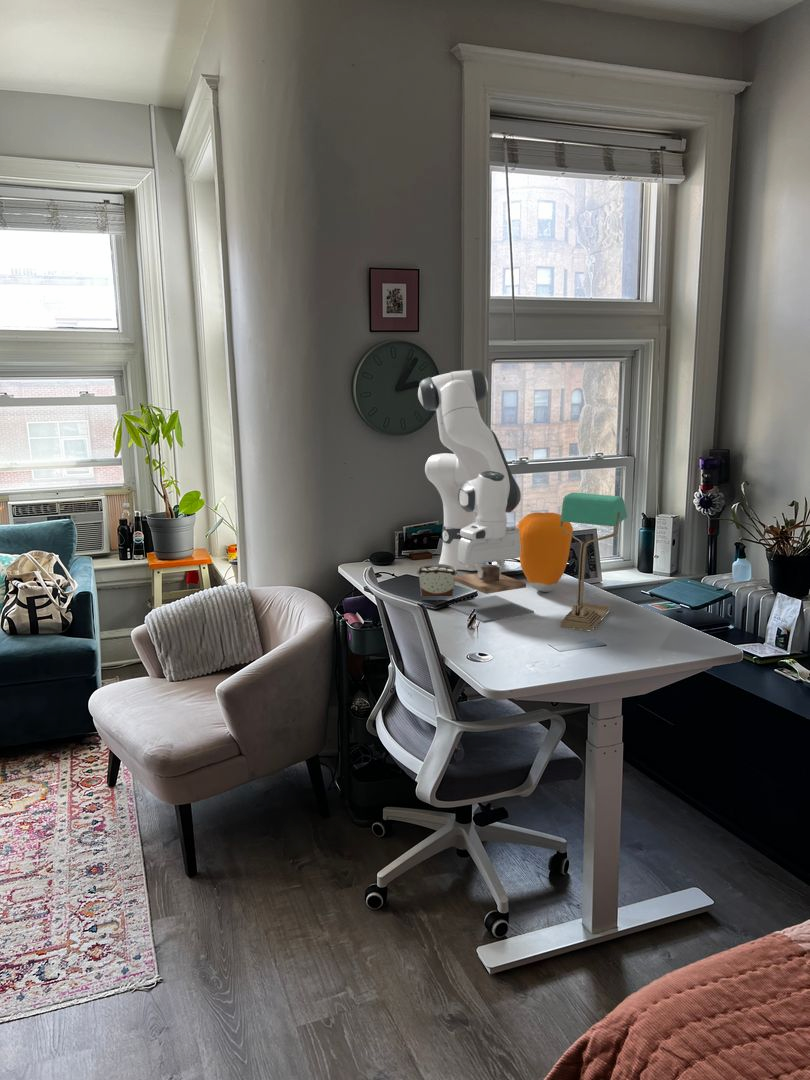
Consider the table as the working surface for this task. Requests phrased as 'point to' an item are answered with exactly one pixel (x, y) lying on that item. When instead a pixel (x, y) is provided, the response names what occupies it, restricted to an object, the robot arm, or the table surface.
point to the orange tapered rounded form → (544, 549)
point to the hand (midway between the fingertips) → (489, 576)
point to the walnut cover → (490, 581)
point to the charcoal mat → (490, 608)
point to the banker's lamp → (586, 512)
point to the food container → (437, 579)
